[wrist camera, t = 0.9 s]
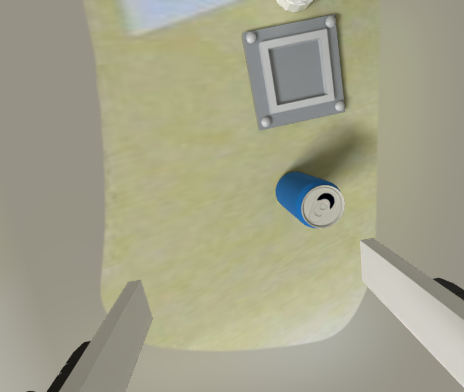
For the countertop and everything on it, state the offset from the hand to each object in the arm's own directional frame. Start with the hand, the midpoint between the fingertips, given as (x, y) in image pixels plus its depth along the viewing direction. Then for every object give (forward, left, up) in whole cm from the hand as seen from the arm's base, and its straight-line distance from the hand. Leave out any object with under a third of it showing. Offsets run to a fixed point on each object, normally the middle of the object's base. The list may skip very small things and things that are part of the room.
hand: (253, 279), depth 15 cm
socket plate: (-16, +14, -28) cm, 35 cm away
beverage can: (+2, +11, -28) cm, 30 cm away
